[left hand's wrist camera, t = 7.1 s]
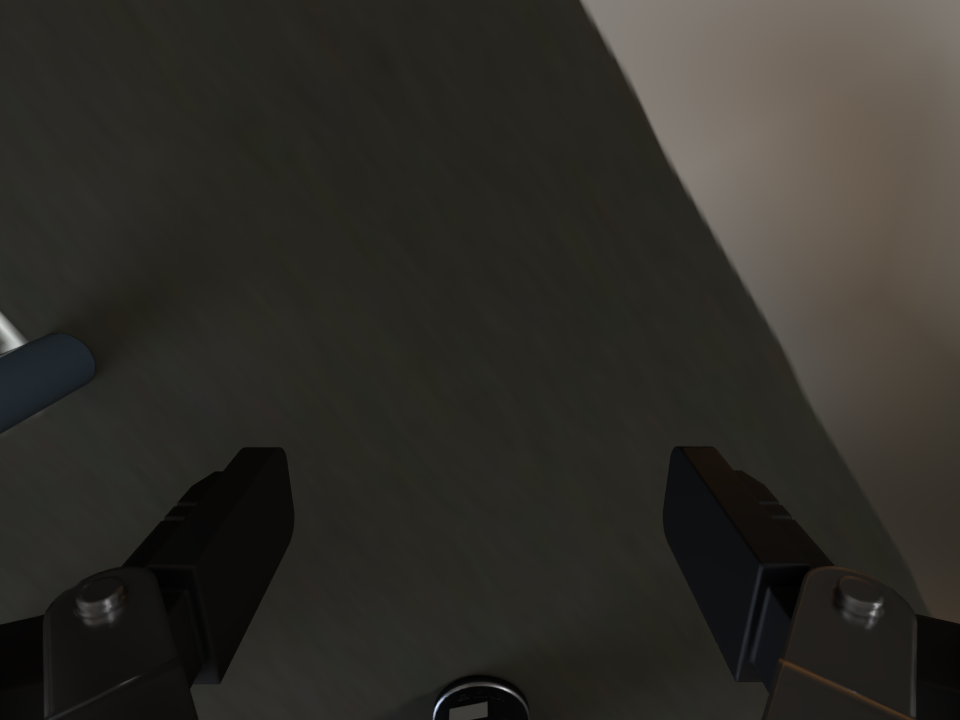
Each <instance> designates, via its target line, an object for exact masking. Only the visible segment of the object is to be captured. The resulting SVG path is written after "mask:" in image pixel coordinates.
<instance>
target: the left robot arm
mask: <svg viewBox="0 0 960 720" xmlns="http://www.w3.org/2000/svg"><path fill="white" fill-rule="evenodd" d="M663 526H664V532H665V536H666V539H667V542H668V544H669V546H670V548H671V550H672V552H673V554H674V556H675V558H676V560H677V563H678V565H679V567H680V569H681V571H682V573H683V575H684V577H685V579H686V581H687V583H688V585H689V587H690V589H691V591H692V593H693V595H694V597H695V599H696V601H697V603H698V605H699V608H700V610H701V612H702V614H703V616H704V618H705V620H706V622H707V624H708V626H709V628H710V630H711V632H712V634H713V636H714V638H715V640H716V642H717V644H718V646H719V648H720V650H721V653H722V655H723V657H724V659H725V661H726V663H727V665H728V667H729V669H730V671H731V673H732V675H733V677H734V679H735V681H736V682H763V683H764V685H765V687H766V689H767V691H768V693H769V695H768V699H767V702H766V706H765V709H764V713H763V716H762V719H761V720H960V624H958V623H954V622H949V621H945V620H940V619H936V618H931V617H927V616H922V615H918V614H915V613H914V611H913V609H912V608H911V606H910V605H909V603H908V602H907V601H906V600H905V599H904V598H903V597H902V596H901V595H900V594H898V593H897V592H896V591H895V590H893V589H892V588H890V587H889V586H887V585H886V584H884V583H882V582H881V581H879V580H877V579H875V578H873V577H871V576H868V575H866V574H864V573H861V572H858V571H855V570H851V569H847V568H842V567H835V565H834V564H833V563H832V562H831V561H830V560H829V559H828V557H827V556H826V555H825V554H824V553H823V552H822V550H821V549H820V548H819V547H818V546H817V545H816V544H815V542H814V541H813V540H812V539H811V538H810V537H809V536H808V534H807V533H806V532H805V531H804V530H803V529H802V528H801V526H800V525H799V524H798V523H797V522H796V521H795V520H792V518H791V515H790V514H789V513H788V511H787V510H786V509H785V508H784V507H783V506H782V505H779V501H778V500H777V499H776V498H775V497H774V495H773V494H772V493H771V492H770V491H769V490H768V488H767V487H766V486H765V485H764V484H762V483H761V482H759V481H757V480H756V479H754V478H753V477H751V476H749V475H748V474H746V473H745V472H743V471H734V470H733V469H732V468H731V467H730V465H729V464H728V463H727V462H726V460H725V459H724V458H723V457H722V456H721V454H720V453H719V452H718V451H717V449H716V448H714V447H675V448H674V449H673V451H672V453H671V457H670V464H669V471H668V478H667V486H666V493H665V500H664V508H663ZM293 528H294V507H293V500H292V493H291V486H290V478H289V471H288V464H287V458H286V454H285V451H284V450H283V449H282V448H280V447H245V448H242V449H241V450H240V451H239V452H238V454H237V455H236V456H235V457H234V459H233V460H232V461H231V462H230V463H229V465H228V466H227V467H226V468H225V470H224V471H223V472H214V473H212V474H210V475H209V476H207V477H206V478H204V479H202V480H201V481H199V482H198V483H196V484H195V485H193V486H192V487H191V488H190V489H189V490H188V491H187V492H186V493H185V495H184V496H183V497H182V498H181V499H180V500H179V501H178V503H177V506H174V507H173V508H172V509H171V511H170V512H169V513H168V514H167V515H166V516H165V520H164V521H161V522H160V523H159V524H158V525H157V526H156V528H155V529H154V530H153V531H152V532H151V533H150V534H149V536H148V537H147V538H146V539H145V540H144V541H143V542H142V544H141V545H140V546H139V547H138V548H137V549H136V550H135V552H134V553H133V554H132V555H131V556H130V557H129V558H128V559H127V561H126V562H125V563H124V564H123V565H122V566H121V567H118V568H113V569H109V570H105V571H102V572H99V573H96V574H94V575H92V576H89V577H87V578H85V579H83V580H81V581H79V582H78V583H76V584H74V585H73V586H71V587H70V588H68V589H67V590H65V591H64V592H63V593H62V594H60V595H59V596H58V597H57V598H56V599H55V600H54V601H53V602H52V603H51V605H50V606H49V608H48V609H47V611H46V613H45V615H41V616H37V617H33V618H28V619H24V620H19V621H15V622H10V623H6V624H1V625H0V720H199V719H198V716H197V713H196V709H195V706H194V702H193V699H192V695H191V692H190V688H191V686H192V684H220V683H221V681H222V679H223V677H224V675H225V673H226V671H227V669H228V667H229V665H230V663H231V661H232V659H233V657H234V655H235V653H236V651H237V649H238V647H239V645H240V642H241V640H242V638H243V636H244V634H245V632H246V630H247V628H248V626H249V624H250V622H251V620H252V618H253V616H254V614H255V612H256V610H257V608H258V606H259V604H260V602H261V600H262V598H263V596H264V594H265V592H266V590H267V588H268V586H269V584H270V582H271V580H272V578H273V576H274V574H275V572H276V570H277V568H278V566H279V564H280V562H281V560H282V558H283V556H284V554H285V552H286V550H287V547H288V545H289V543H290V541H291V538H292V534H293ZM433 720H530V717H529V706H528V702H527V700H526V698H525V696H524V694H523V693H522V692H521V691H520V690H519V689H518V688H517V687H516V686H514V685H513V684H511V683H509V682H507V681H505V680H502V679H499V678H495V677H488V676H474V677H468V678H464V679H461V680H458V681H456V682H454V683H452V684H450V685H449V686H447V687H446V688H445V689H444V690H443V691H442V692H441V693H440V694H439V696H438V697H437V699H436V701H435V705H434V714H433Z"/></svg>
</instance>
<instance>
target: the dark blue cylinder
mask: <svg viewBox="0 0 960 720" xmlns="http://www.w3.org/2000/svg"><path fill="white" fill-rule="evenodd" d="M94 373H95V361H94V358H93V356H92V354H91V352H90V351H89V349H88V348H87V347H86V346H85V345H84V344H83V343H82V342H81V341H79V340H78V339H76V338H74V337H72V336H70V335H66V334H61V333H54V334H49V335H46V336H44V337H41V338H39V339H36V340H34V341H32V342H29V343H27V344H24V345H22V346H19V347H17V348H14V349H12V350H10V351H7V352H5V353H2V354H0V434H1V433H3V432H5V431H6V430H8V429H10V428H12V427H13V426H15V425H17V424H19V423H20V422H22V421H24V420H25V419H27V418H29V417H31V416H32V415H34V414H36V413H38V412H39V411H41V410H43V409H45V408H46V407H48V406H50V405H52V404H53V403H55V402H57V401H59V400H60V399H62V398H64V397H65V396H67V395H69V394H71V393H72V392H74V391H76V390H78V389H79V388H81V387H83V386H85V385H86V384H88V383H89V382H90V381H91V379H92V378H93V376H94Z"/></svg>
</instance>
